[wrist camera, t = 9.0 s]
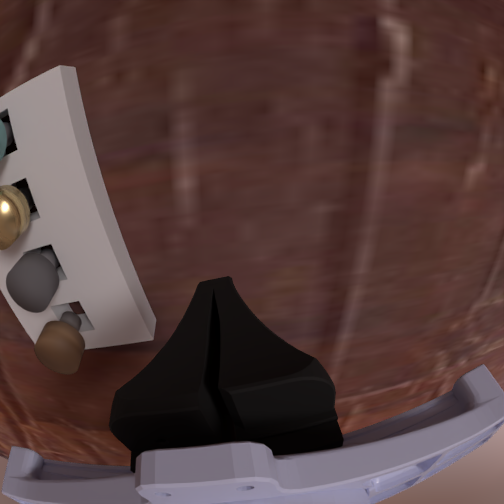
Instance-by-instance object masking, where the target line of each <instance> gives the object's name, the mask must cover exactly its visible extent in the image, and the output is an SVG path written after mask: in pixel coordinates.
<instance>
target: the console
mask: <svg viewBox="0 0 504 504" xmlns="http://www.w3.org/2000/svg"><path fill="white" fill-rule="evenodd" d="M8 114H9V117H10V122H11V126H12V130H13V134H14V138H15V142H16V146H17V149H18V150H16V151H14V152H12V153H10V154H8V155H6V151H5V153H4V156H3V158H2V159H1V161H0V186H2V185H12V186H14V187H16V184H15V182H17V181H19V180H22V179H24V178H26V179H27V182H28V185H29V188H30V191H31V194H32V197H33V200H34V202H35V205H36V208H37V210H38V211H36V212H34V213H31V214H30V222H29V225H28V227H27V229H26V231H25V232H24V233H23V234H22V235H21V236H20V237H19V238H18V239H17V240H16V241H15V242H14V243H13V244H12V245H11V246H10V247H9V248H7V249H5V250H0V289H1V291H2V293H3V294H4V296H5V298H6V300H7V301H8V303H9V305H10V306H11V308H12V310H13V311H14V313H15V315H16V316H17V318H18V319H19V321H20V322H21V324H22V326H23V327H24V329H25V330H26V332H27V333H28V335H29V336H30V337H31V339H32V340H33V342H34V343H35V344H36V342H37V340H38V338H39V335H40V333H41V331H42V329H43V327H44V325H45V324H46V323H47V322H50V321H59V320H60V318H61V316H62V314H63V313H64V312H66V311H71V312H73V311H72V309H71V307H70V305H69V304H68V303H71V302H76V301H79V302H80V304H81V306H82V308H83V309H84V311H85V313H84V314H79V315H78V316H79V317H80V319H81V321H82V324H81V327H80V330H79V333H80V334H81V335H82V337H83V339H84V341H85V349H92V348H100V347H108V346H116V345H123V344H130V343H137V342H144V341H151V340H153V339H154V332H155V325H156V318H155V316H154V314H153V311H152V309H151V307H150V305H149V302H148V300H147V298H146V295H145V293H144V291H143V288H142V286H141V284H140V281H139V279H138V276H137V274H136V271H135V269H134V266H133V264H132V261H131V259H130V256H129V254H128V251H127V248H126V246H125V243H124V240H123V238H122V235H121V232H120V230H119V227H118V224H117V221H116V218H115V215H114V212H113V209H112V207H111V204H110V200H109V197H108V194H107V191H106V188H105V185H104V182H103V178H102V175H101V172H100V168H99V165H98V162H97V158H96V155H95V151H94V147H93V144H92V140H91V136H90V132H89V128H88V124H87V120H86V116H85V112H84V107H83V103H82V98H81V94H80V89H79V84H78V79H77V74H76V68H75V67H69V66H57V67H55V68H53V69H51V70H49V71H47V72H45V73H43V74H41V75H39V76H37V77H35V78H33V79H32V80H30V81H28V82H26V83H24V84H22V85H21V86H19V87H17V88H15V89H14V90H12V91H10V92H9V93H7V94H5V95H4V96H2V97H0V119H2V118H3V117H5V116H7V115H8ZM16 188H17V187H16ZM49 244H51V245H52V247H53V249H54V251H55V254H56V256H57V258H58V260H59V262H60V264H61V266H60V267H57V269H56V270H57V272H58V275H59V287H58V289H57V291H56V293H55V294H54V296H53V298H52V300H51V301H50V303H49V305H48V307H47V308H46V309H45V310H44V311H43V312H40V313H33V312H29V311H26V310H24V309H23V308H21V307H20V306H19V305H17V304H16V303H15V302H14V300H13V299H12V298H11V296H10V294H9V293H8V290H7V287H6V277H7V274H8V273H9V271H10V270H11V269H12V268H13V266H14V265H15V264H16V263H17V261H18V260H19V259H20V258H21V257H22V256H23V255H24V254H26V253H29V252H35V253H40V252H41V251H42V250H41V248H40V247H42V246H46V245H49Z"/></svg>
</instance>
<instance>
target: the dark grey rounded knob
mask: <svg viewBox="0 0 504 504" xmlns="http://www.w3.org/2000/svg"><path fill="white" fill-rule="evenodd" d="M58 266H59V260H58V258H57V256H56V254H55V252H54V251H53V250H51V249H43V250H42V251H41V252H40V253H35V252H29V253H26V254H24V255H23V256H22V257H21V258H20V259H19V260H18V261H17V263H16V264H15V265H14V266H13V268H12V269H11V270H10V271H9V273H8V274H7V277H6V287H7V290H8V293H9V294H10V296H11V298H12V299H13V300H14V302H15V303H16V304H17V305H19V306H20V307H21V308H23V309H24V310H26V311H29V312H33V313H40V312H43V311H44V310H45V309H46V308H47V307H48V305H49V303H50V301H51V300H52V298H53V296H54V294H55V293H56V291H57V289H58V287H59V275H58V272H57V270H56V269H57V267H58Z"/></svg>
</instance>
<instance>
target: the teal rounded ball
mask: <svg viewBox="0 0 504 504" xmlns="http://www.w3.org/2000/svg"><path fill="white" fill-rule="evenodd" d="M13 139H14V134H13V130H12V126H11V124H10V123H8V122H2V120H1V119H0V161H1V159H2V158H3V156H4V153H5V150H6V147H8V146H9V145H10V144H11V143H12V141H13Z"/></svg>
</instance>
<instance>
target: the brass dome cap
mask: <svg viewBox="0 0 504 504" xmlns="http://www.w3.org/2000/svg"><path fill="white" fill-rule="evenodd" d="M33 205H34V200H33V197H32V194H31V191H30V190H29V189H28V188H26V187H21V188H19V189H17V188H16V187H14V186H12V185H2V186H0V250H5V249H7V248H9V247H10V246H11V245H12V244H13V243H14V242H15V241H16V240H17V239H18V238H19V237H20V236H21V235H22V234H23V233H24V232H25V231H26V229H27V227H28V225H29V222H30V209H32V207H33Z"/></svg>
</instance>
